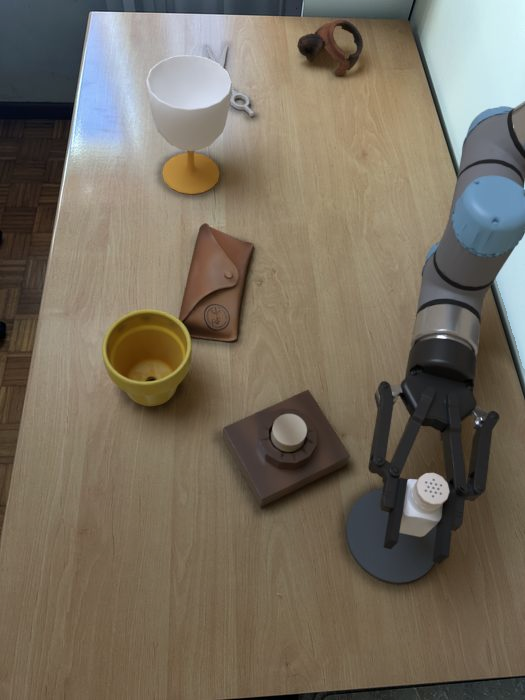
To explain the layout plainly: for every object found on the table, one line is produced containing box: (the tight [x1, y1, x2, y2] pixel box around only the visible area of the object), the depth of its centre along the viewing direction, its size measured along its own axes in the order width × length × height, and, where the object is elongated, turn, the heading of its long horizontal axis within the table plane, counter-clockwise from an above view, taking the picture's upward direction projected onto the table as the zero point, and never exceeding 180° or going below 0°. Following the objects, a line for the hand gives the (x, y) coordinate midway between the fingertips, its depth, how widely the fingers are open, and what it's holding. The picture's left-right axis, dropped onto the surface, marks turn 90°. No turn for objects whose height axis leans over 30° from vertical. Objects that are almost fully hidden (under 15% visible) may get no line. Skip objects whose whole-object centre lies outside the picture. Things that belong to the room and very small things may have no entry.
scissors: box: [205, 42, 255, 118], centre depth 117 cm, size 11×1×20 cm
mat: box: [345, 488, 437, 585], centre depth 77 cm, size 11×11×1 cm
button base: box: [221, 389, 351, 508], centre depth 80 cm, size 12×10×5 cm
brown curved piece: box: [296, 19, 364, 76], centre depth 120 cm, size 12×10×8 cm
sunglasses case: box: [178, 222, 254, 343], centre depth 93 cm, size 18×7×7 cm, turn 174°
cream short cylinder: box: [271, 414, 307, 452], centre depth 77 cm, size 4×4×2 cm
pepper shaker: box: [399, 472, 450, 537], centre depth 68 cm, size 4×4×10 cm
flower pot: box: [101, 308, 193, 407], centre depth 81 cm, size 10×10×10 cm
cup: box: [145, 54, 233, 195], centre depth 98 cm, size 12×12×17 cm
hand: (415, 551), depth 64 cm, fingers closed on pepper shaker, 4 cm apart
